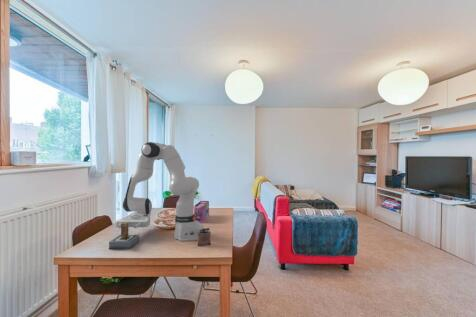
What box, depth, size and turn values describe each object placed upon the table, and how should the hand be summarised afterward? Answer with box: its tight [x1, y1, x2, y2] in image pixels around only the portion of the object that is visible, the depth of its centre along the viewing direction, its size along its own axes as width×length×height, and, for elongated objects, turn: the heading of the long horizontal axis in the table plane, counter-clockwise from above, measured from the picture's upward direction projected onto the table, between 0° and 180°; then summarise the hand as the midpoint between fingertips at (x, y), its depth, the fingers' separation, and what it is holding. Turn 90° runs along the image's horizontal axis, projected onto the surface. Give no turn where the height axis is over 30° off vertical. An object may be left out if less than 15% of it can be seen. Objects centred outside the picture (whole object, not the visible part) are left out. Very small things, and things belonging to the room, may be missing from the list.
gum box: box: [193, 200, 210, 224], centre depth 196 cm, size 24×8×14 cm, turn 175°
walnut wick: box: [120, 222, 129, 240], centre depth 138 cm, size 2×4×12 cm, turn 2°
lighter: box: [197, 227, 212, 247], centre depth 140 cm, size 8×3×10 cm, turn 114°
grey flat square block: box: [108, 234, 140, 250], centre depth 138 cm, size 12×12×4 cm
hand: (127, 226), depth 141 cm, fingers open, 8 cm apart
